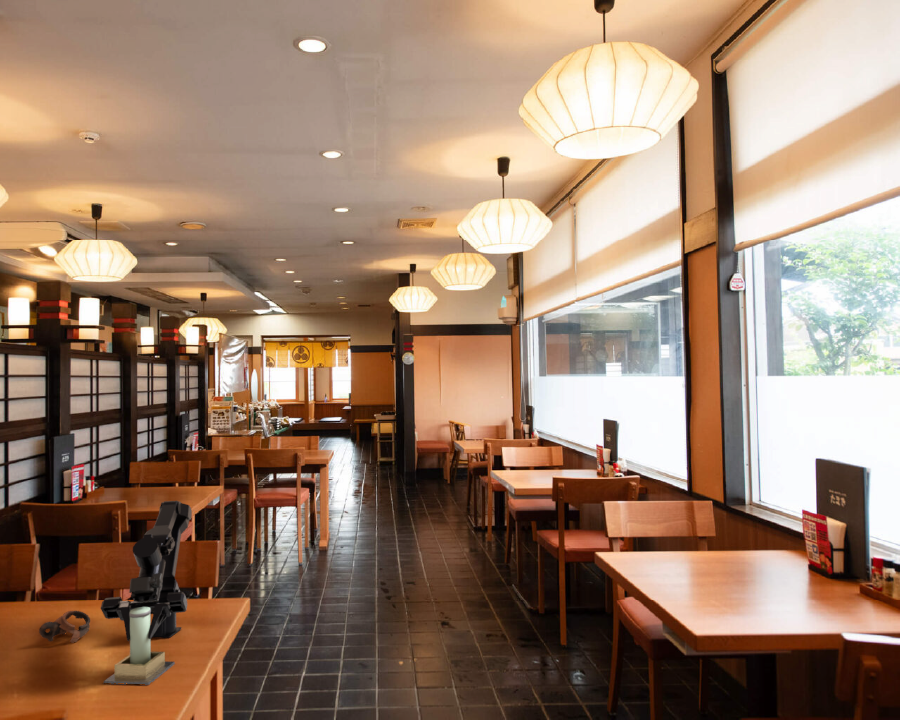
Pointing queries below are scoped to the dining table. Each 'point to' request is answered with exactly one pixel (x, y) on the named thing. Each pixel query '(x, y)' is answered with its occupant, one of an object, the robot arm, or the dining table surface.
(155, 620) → the robot arm
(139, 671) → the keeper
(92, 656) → the dining table surface
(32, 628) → the dining table surface
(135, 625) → the pale green cylinder
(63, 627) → the dark double loop ring
